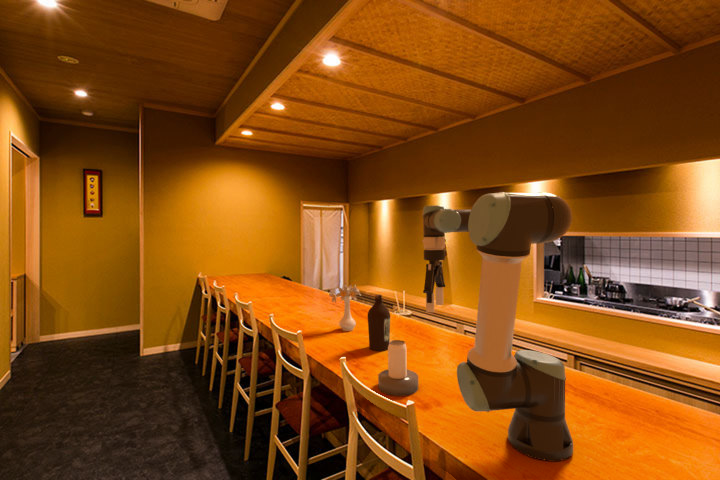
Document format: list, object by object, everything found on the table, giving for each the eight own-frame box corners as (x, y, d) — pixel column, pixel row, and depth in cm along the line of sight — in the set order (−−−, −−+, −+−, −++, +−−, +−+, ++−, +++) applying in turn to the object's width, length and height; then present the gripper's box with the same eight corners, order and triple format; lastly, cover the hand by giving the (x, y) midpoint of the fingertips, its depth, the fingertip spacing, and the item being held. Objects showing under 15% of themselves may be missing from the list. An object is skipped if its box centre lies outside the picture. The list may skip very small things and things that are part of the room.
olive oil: (364, 350, 173) (363, 296, 172) (372, 343, 182) (372, 292, 182) (386, 352, 169) (385, 297, 168) (393, 345, 178) (392, 293, 177)
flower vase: (326, 330, 206) (325, 285, 205) (352, 324, 218) (351, 282, 217) (341, 335, 196) (340, 288, 195) (367, 329, 208) (366, 284, 208)
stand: (418, 397, 124) (418, 385, 124) (376, 394, 126) (376, 383, 126) (418, 380, 138) (418, 369, 138) (380, 378, 140) (380, 367, 140)
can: (392, 380, 128) (391, 346, 128) (385, 373, 134) (385, 340, 134) (409, 378, 130) (409, 344, 129) (402, 371, 136) (402, 338, 136)
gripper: (432, 247, 146) (433, 301, 147) (413, 250, 124) (414, 314, 124) (451, 247, 143) (452, 302, 144) (436, 250, 121) (437, 316, 121)
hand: (435, 308), depth 134 cm, fingers open, 13 cm apart
